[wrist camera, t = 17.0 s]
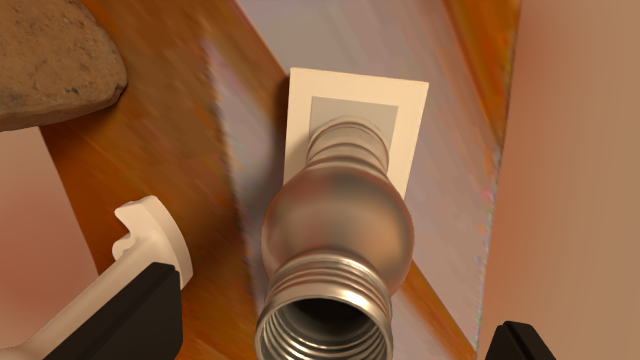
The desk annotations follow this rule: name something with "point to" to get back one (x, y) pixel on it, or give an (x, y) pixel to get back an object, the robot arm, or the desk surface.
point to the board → (354, 114)
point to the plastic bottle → (335, 251)
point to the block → (54, 63)
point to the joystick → (115, 273)
